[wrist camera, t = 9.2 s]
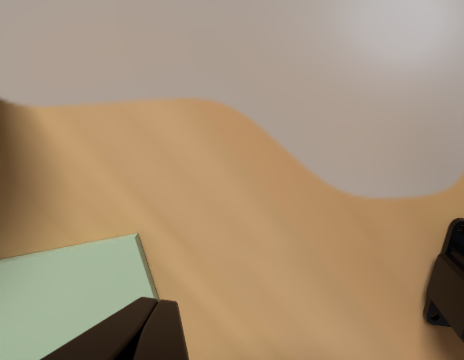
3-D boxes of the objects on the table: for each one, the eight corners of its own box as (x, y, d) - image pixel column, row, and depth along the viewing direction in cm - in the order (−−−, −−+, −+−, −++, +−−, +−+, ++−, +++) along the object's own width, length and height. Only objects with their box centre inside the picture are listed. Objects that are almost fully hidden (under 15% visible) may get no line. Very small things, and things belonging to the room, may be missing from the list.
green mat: (137, 233, 23) (134, 237, 22) (192, 406, 26) (191, 414, 25) (-156, 289, 26) (-165, 294, 25) (-73, 439, 29) (-80, 446, 28)
